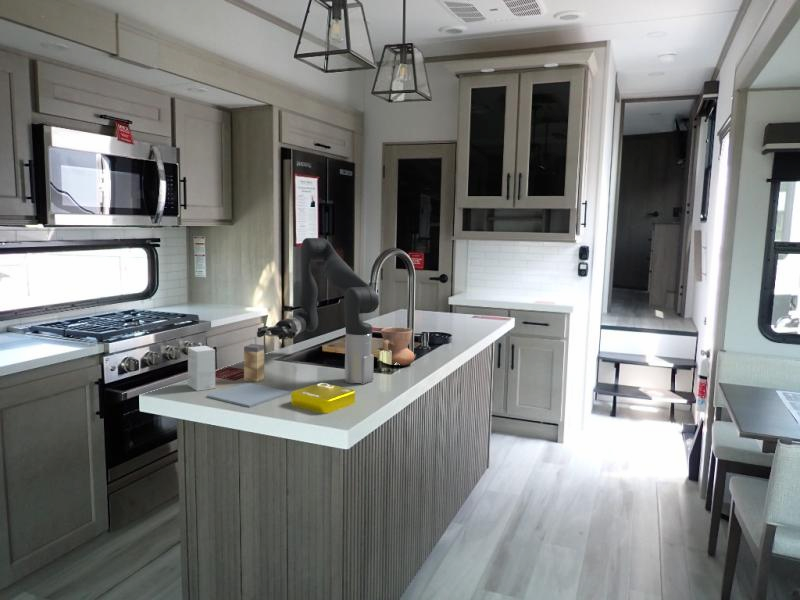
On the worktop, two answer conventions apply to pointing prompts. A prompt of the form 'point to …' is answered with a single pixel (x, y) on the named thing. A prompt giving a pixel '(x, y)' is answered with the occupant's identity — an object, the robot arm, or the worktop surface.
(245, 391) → the grey mat
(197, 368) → the small box
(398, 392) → the worktop surface
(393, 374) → the worktop surface
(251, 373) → the wood block
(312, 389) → the element tile
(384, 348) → the ceramic jug
